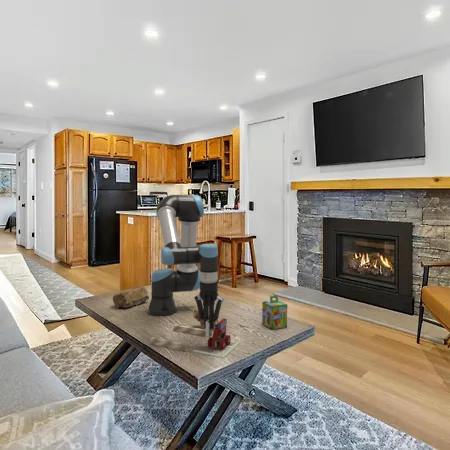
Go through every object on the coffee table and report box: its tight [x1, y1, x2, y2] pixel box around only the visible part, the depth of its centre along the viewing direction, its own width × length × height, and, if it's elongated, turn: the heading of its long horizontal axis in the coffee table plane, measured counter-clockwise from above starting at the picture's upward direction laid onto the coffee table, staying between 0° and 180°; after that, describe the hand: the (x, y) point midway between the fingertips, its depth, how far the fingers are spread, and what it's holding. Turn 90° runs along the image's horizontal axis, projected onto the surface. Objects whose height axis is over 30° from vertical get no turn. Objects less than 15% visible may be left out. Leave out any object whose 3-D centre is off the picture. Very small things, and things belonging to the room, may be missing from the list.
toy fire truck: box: [206, 318, 232, 350], centre depth 152 cm, size 7×12×10 cm, turn 156°
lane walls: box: [150, 324, 207, 352], centre depth 158 cm, size 18×19×2 cm
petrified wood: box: [112, 285, 150, 308], centre depth 210 cm, size 19×13×10 cm
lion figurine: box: [192, 308, 219, 329], centre depth 172 cm, size 15×5×9 cm, turn 74°
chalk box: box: [261, 294, 288, 330], centre depth 176 cm, size 9×9×15 cm
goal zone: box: [192, 340, 241, 359], centre depth 151 cm, size 14×16×1 cm
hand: (208, 336), depth 152 cm, fingers closed
